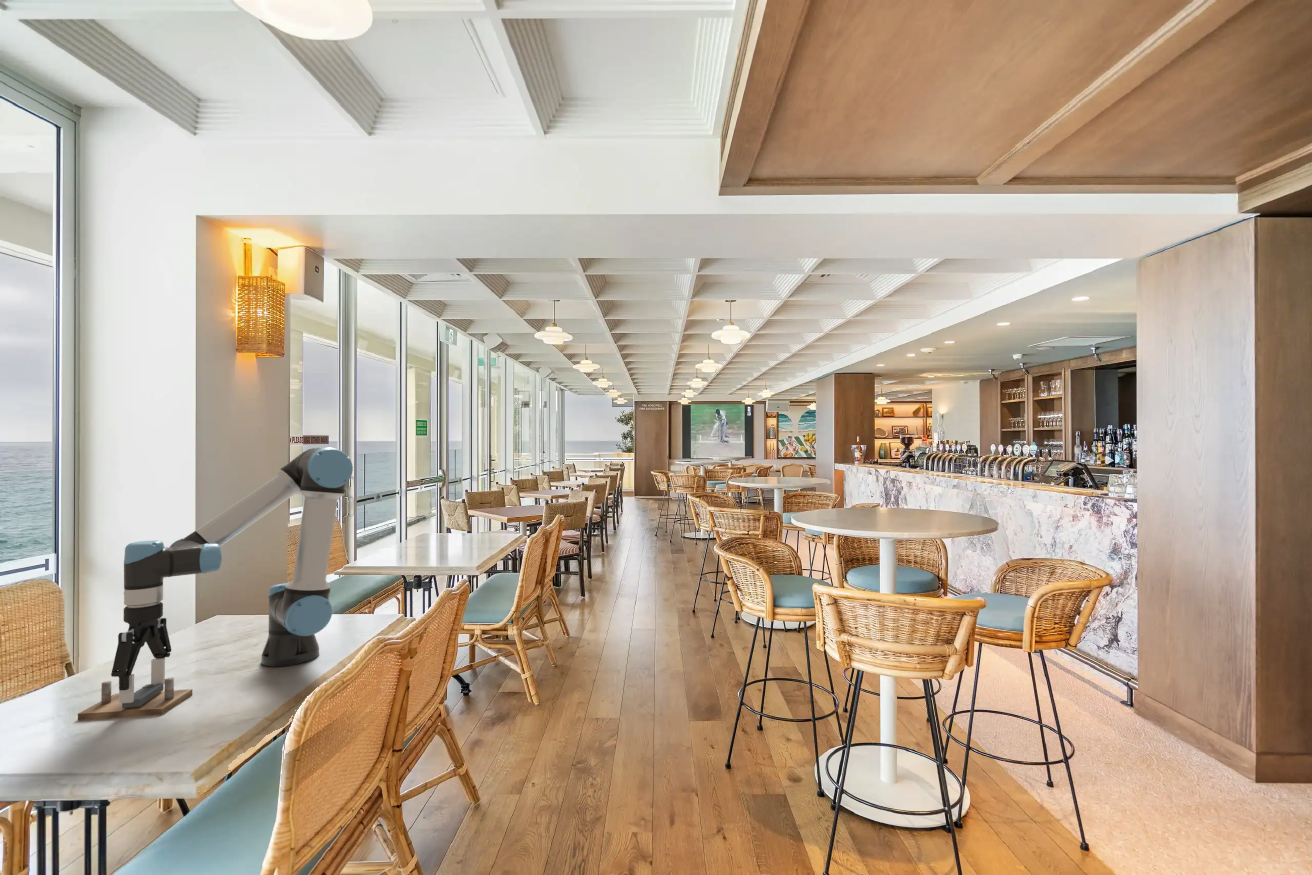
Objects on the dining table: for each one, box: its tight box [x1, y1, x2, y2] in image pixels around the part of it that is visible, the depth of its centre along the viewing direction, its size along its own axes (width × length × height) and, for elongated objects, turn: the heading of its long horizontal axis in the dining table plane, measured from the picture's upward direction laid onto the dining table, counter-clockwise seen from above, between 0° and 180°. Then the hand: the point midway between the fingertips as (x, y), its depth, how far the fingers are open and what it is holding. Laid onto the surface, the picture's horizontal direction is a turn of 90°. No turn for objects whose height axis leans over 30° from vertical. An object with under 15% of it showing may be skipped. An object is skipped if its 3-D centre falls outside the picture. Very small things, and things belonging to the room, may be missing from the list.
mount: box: [77, 677, 193, 721], centre depth 151 cm, size 18×12×6 cm, turn 99°
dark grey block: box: [122, 683, 165, 708], centre depth 151 cm, size 4×10×2 cm, turn 15°
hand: (142, 692), depth 151 cm, fingers closed on dark grey block, 11 cm apart
